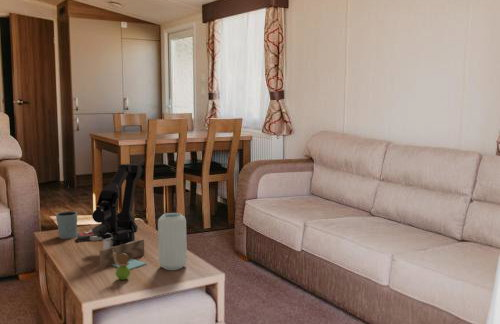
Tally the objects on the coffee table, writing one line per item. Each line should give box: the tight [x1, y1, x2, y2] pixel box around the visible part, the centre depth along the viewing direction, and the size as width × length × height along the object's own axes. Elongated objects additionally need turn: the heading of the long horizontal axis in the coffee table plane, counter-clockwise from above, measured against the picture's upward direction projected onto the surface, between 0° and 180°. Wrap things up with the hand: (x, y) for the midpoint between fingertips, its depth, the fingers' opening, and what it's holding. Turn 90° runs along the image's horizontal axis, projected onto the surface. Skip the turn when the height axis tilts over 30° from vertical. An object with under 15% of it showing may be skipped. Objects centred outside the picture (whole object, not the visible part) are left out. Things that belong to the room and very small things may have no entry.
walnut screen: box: [99, 238, 145, 268], centre depth 218 cm, size 22×2×7 cm, turn 141°
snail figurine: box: [112, 249, 131, 281], centre depth 196 cm, size 5×6×12 cm
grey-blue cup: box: [55, 210, 78, 240], centre depth 254 cm, size 10×10×12 cm
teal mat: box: [111, 258, 147, 271], centre depth 213 cm, size 10×10×1 cm
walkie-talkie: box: [76, 229, 112, 242], centre depth 252 cm, size 9×4×20 cm
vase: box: [157, 212, 188, 271], centre depth 209 cm, size 12×12×22 cm
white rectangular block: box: [102, 237, 114, 250], centre depth 227 cm, size 5×5×7 cm
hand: (111, 250), depth 227 cm, fingers open, 6 cm apart
